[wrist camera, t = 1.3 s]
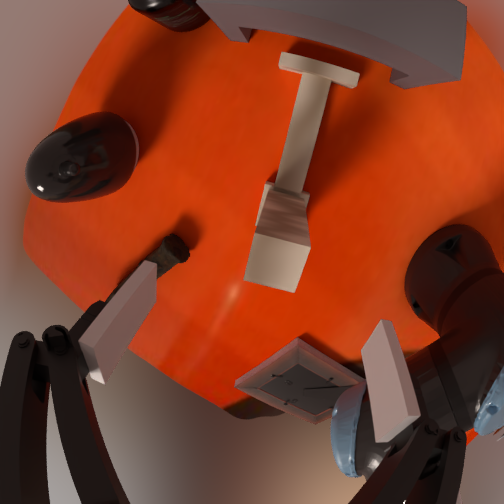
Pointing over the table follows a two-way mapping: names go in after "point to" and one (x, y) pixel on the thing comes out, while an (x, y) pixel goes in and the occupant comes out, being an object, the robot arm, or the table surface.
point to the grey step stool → (362, 31)
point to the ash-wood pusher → (292, 180)
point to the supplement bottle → (172, 13)
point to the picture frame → (299, 382)
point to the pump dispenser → (83, 159)
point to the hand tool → (162, 258)
